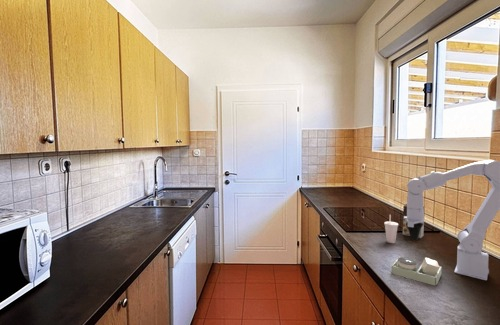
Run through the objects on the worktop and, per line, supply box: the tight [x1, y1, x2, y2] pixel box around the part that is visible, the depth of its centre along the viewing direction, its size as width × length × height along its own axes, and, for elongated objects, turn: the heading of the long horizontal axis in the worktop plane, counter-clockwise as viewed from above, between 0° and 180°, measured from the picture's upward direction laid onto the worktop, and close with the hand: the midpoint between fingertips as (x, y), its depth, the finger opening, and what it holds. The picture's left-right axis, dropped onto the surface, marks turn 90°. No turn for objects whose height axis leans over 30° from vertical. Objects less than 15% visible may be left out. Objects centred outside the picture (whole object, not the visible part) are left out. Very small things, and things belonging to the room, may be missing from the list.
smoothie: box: [383, 214, 399, 244], centre depth 138 cm, size 6×6×14 cm
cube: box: [421, 257, 441, 276], centre depth 101 cm, size 4×4×4 cm
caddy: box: [390, 258, 442, 287], centre depth 105 cm, size 14×11×3 cm
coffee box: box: [402, 203, 425, 239], centre depth 147 cm, size 9×6×16 cm
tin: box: [397, 256, 418, 272], centre depth 106 cm, size 7×7×5 cm
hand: (414, 240), depth 113 cm, fingers closed
